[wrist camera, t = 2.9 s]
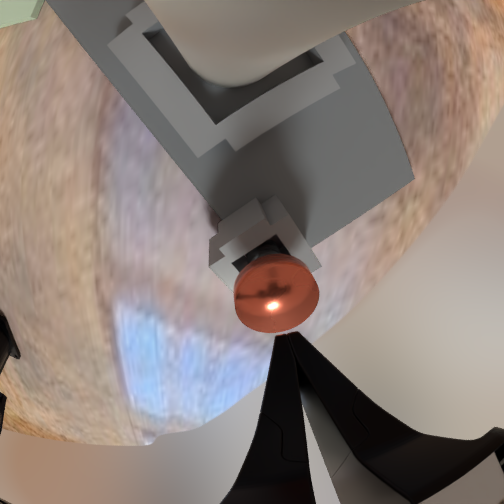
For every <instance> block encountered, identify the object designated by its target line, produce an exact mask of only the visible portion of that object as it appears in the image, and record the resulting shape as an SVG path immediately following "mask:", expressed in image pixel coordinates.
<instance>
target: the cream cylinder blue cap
mask: <svg viewBox="0 0 504 504" xmlns="http://www.w3.org/2000/svg"><path fill="white" fill-rule="evenodd" d="M144 1H145V2H146V3H147V5H148V6H149V8H150V9H151V10H152V12H153V13H154V15H155V16H156V18H157V19H158V21H159V22H160V23H161V25H162V26H163V28H164V29H165V31H166V32H167V34H168V35H169V37H170V38H171V40H172V41H173V43H174V44H175V46H176V47H177V49H178V50H179V52H180V53H181V55H182V56H183V58H184V59H185V61H186V62H187V64H188V65H189V67H190V68H191V70H192V71H193V72H194V73H195V74H196V75H197V76H198V77H199V78H200V79H202V80H204V81H205V82H207V83H209V84H212V85H215V86H218V87H224V88H238V87H244V86H247V85H250V84H253V83H255V82H257V81H259V80H261V79H262V78H264V77H265V76H267V75H268V74H270V73H271V72H273V71H274V70H276V69H277V68H279V67H281V66H282V65H284V64H285V63H287V62H289V61H290V60H292V59H294V58H295V57H297V56H299V55H301V54H302V53H304V52H306V51H308V50H309V49H311V48H313V47H315V46H317V45H318V44H320V43H322V42H324V41H326V40H328V39H330V38H332V37H334V36H336V35H338V34H340V33H342V32H344V31H346V30H348V29H350V28H353V27H355V26H357V25H359V24H361V23H364V22H366V21H368V20H371V19H373V18H376V17H378V16H381V15H383V14H386V13H388V12H391V11H394V10H396V9H399V8H402V7H405V6H408V5H411V4H414V3H417V2H421V1H424V0H144Z"/></svg>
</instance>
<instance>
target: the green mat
mask: <svg viewBox="0 0 504 504" xmlns="http://www.w3.org/2000/svg"><path fill="white" fill-rule="evenodd" d="M44 1H45V0H0V28H3V27H6V26H10V25H13V24H17V23H21V22H25V21H29V20H34V19H37V17H38V14H39V12H40V10H41V7H42V5H43V3H44Z"/></svg>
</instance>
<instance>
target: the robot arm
mask: <svg viewBox="0 0 504 504" xmlns="http://www.w3.org/2000/svg"><path fill="white" fill-rule="evenodd" d="M9 355H10V356H12V357H14V358H16V359H20V357H21V355H20V353H19V351H18V348H17V346H16V344H15V341H14V339H13V336H12V334H11V331H10V329H9V326H8V323H7V321H6V319H5V318H4V317H3V316H1V315H0V374H1V372H2V370H3V368H4V365H5V363H6V361H7V359H8V357H9ZM6 399H7V397H6V396H5V395H4V394H3V393H1V392H0V434H1V431H2V424H3V417H4V410H5V404H6ZM302 405H303V407H304V410H305V412H306V415H307V418H308V420H309V423H310V426H311V428H312V430H313V433H314V436H315V439H316V441H317V444H318V446H319V449H320V451H321V454H322V457H323V459H324V462H325V465H326V467H327V470H328V472H329V475H330V478H331V480H332V483H333V485H334V488H335V490H336V493H337V496H338V498H339V501H340V503H341V504H504V429H502V428H498V427H494V428H493V429H491V430H490V431H489V432H488V433H486V434H485V435H484V436H482V437H481V438H478V439H475V440H461V439H453V438H446V437H439V436H432V435H427V434H423V433H420V432H418V431H416V430H414V429H412V428H410V427H409V426H407V425H406V424H404V423H403V422H401V421H400V420H398V419H397V418H395V417H394V416H392V415H391V414H389V413H388V412H386V411H385V410H384V409H382V408H381V407H380V406H378V405H377V404H375V403H374V402H373V401H372V400H371V399H370V398H369V397H367V396H366V395H365V394H364V393H363V392H362V391H361V390H360V389H358V388H357V387H356V386H355V385H354V384H353V383H352V382H351V381H350V380H349V379H348V378H347V377H346V376H345V375H343V374H342V373H341V372H340V371H339V370H338V369H337V368H336V367H335V366H334V365H333V364H332V363H331V362H330V361H329V360H328V359H327V358H325V357H324V356H323V355H322V354H321V353H320V352H319V351H318V350H317V349H316V348H315V347H314V346H313V345H312V344H311V343H310V342H309V341H308V340H307V339H306V338H305V337H303V336H302V335H301V334H300V333H299V332H297V331H296V332H291V333H288V334H287V335H286V334H281V335H276V336H275V340H274V345H273V351H272V356H271V361H270V366H269V371H268V377H267V382H266V387H265V391H264V397H263V401H262V406H261V410H260V412H261V413H260V414H259V419H258V424H257V428H256V431H255V435H254V438H253V440H252V443H251V446H250V449H249V451H248V453H247V456H246V458H245V461H244V463H243V465H242V468H241V470H240V472H239V474H238V477H237V479H236V481H235V483H234V484H233V486H232V488H231V489H230V491H229V492H228V494H227V495H226V496H225V498H224V499H223V500H222V502H221V503H220V504H316V502H315V496H314V492H313V486H312V481H311V475H310V468H309V459H308V451H307V441H306V433H305V425H304V416H303V409H302ZM0 504H11V503H9V502H7V501H5V500H3V499H1V498H0Z"/></svg>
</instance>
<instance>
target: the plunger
mask: <svg viewBox="0 0 504 504" xmlns="http://www.w3.org/2000/svg"><path fill="white" fill-rule="evenodd" d="M246 257H247V262H248V265H246V266H245V267H244V268H243V269H242V270H241V272H240V273H239V274H238V276H237V278H236V280H235V283H234V289H233V291H234V302H235V310H236V313H237V316H238V318H239V319H240V321H241V322H242V323H243V324H244V325H246V326H247V327H249V328H251V329H253V330H255V331H259V332H264V333H276V332H282V331H286V330H289V329H292V328H294V327H296V326H298V325H299V324H301V323H302V322H304V321H305V320H306V319H307V318H308V317H309V316H310V315H311V314H312V313H313V311H314V310H315V308H316V306H317V303H318V300H319V288H318V285H317V283H316V281H315V279H314V277H313V275H312V274H311V272H310V270H309V268H308V267H307V265H306V264H305V263H304V262H303V261H301V260H300V259H298V258H296V257H294V256H291V255H287V254H281V253H280V250H279V248H278V246H277V244H276V243H275V242H274V241H272V240H270V239H268V240H266V241H265V242H263V243H262V244H260V245H258V246H257V247H255V248H254V249H252V250H251V251H249V252H248V253H246Z"/></svg>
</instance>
